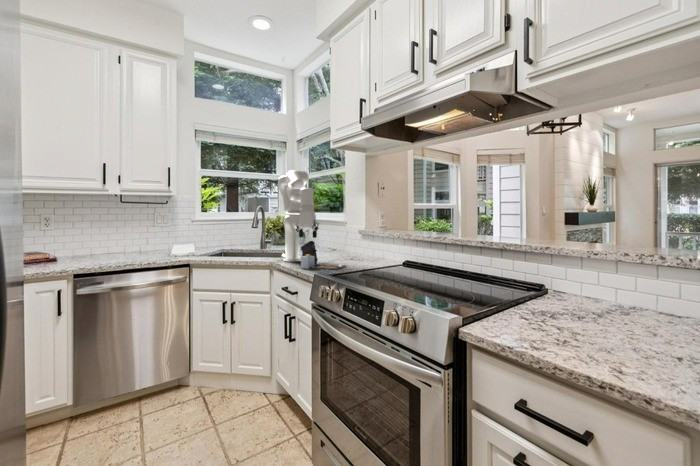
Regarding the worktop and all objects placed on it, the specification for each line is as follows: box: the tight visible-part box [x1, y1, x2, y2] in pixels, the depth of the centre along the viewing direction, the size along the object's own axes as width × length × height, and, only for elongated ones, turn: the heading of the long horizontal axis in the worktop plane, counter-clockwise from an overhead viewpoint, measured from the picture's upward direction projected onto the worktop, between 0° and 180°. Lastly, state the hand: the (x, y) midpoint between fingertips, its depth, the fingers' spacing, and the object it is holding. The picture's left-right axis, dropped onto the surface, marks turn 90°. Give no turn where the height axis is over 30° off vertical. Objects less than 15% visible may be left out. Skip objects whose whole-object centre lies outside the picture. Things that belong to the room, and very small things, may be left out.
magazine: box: [299, 240, 319, 266], centre depth 214 cm, size 4×13×15 cm, turn 46°
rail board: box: [316, 261, 347, 271], centre depth 200 cm, size 12×14×2 cm
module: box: [300, 254, 316, 270], centre depth 198 cm, size 5×7×8 cm
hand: (307, 237), depth 197 cm, fingers open, 9 cm apart
